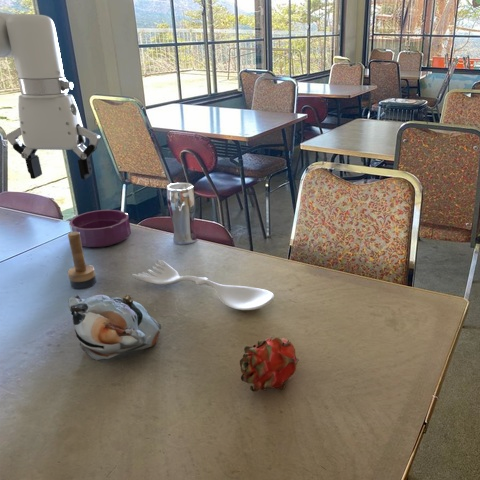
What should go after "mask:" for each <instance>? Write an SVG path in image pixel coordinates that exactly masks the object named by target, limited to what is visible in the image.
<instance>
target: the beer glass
mask: <svg viewBox="0 0 480 480" xmlns="http://www.w3.org/2000/svg"><path fill="white" fill-rule="evenodd" d="M195 195H196V194H195V190H194V185H193V184H192V183H190V182H175V183H170V184H168V185H167V186H166V203H167V204H166V205H167V209H168V213H169V216H170V220H171V223H172V228H173V238H172V239H173V240H172V241H173V243H174V244H176V245H179V246H180V245H181V246H185V245H191V244H193V243H195V242H197V240H198V237H197V233H196V230H195V219H196V206H197V205H196V196H195Z"/></svg>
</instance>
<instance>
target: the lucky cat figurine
mask: <svg viewBox="0 0 480 480" xmlns="http://www.w3.org/2000/svg"><path fill="white" fill-rule="evenodd" d="M67 302H68V309H69V311H70V312H71V313H70V314H71V316H72V324H73V329H74V332H75V336H76V339H77V341H78V342H79V346H80V348H81V350H82V351H83V352H85V353H86V354H87V355H89V356H90V357H91V359H92V360H94V361H100V360H104V359H105V360H109V359H112V358H114V357H116V356H118V355H121V354H125V353H129V352H134V351H139V350H144V349H148V348H150V347H154V346H156V344H157V341H158V339H159V335H160V330H161V329H162V324H161V323H159V322H158V321H157V320H156V319H155V318H154V317H152V316H151V315H150V313H149V312H148V310H147V308H145V307H144V305H142V304H141V303H139V302H137V301H135V300H134V297H132V296H131V295H129V294H125V295H124V296H123V297H113V296H108V295H106V294H95V295H92V296H90V297H87V298H81V297H80V296H79V295H73V296H71V297H70V298H69V299H67Z"/></svg>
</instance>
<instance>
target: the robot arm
mask: <svg viewBox="0 0 480 480" xmlns="http://www.w3.org/2000/svg"><path fill="white" fill-rule="evenodd" d="M60 51H61V50H60V46H59V42H58V35H57V30H56V26H55V22H54V21H53V18H51V17H50V16H48V15H45V14H33V13H7V12H0V58H12V59H13V62H14V67H15V72H16V77H17V81H18V85H19V89H20V94H19V95H18V103H17V104H18V120H19V127H18V128H16V129H14V130H13V131H10V132H8V133H7V134H6V135H5V138H6V140H7V141H8V142H9V144H10V145H11V146H12V148H13V150H14V151H16V153H18V154H19V155H20V156H21V158H22V159H24V160H25V164H26V168H27V173H28V174H29V176H30V179H31V180H34V179H37V178H38V177H40V176H42V175H43V171H42V166H41V161H40V157H39V156H38V155H39V154H36V153H37V151H38V150H47V151H48V150H50V151H52V150H53V151H54V150H55V151H56V150H57V151H68V150H70V151H71V150H72V151H73V153H74V154H76V155H77V156H78V157H79V159H78V160H77V164H78V170H79V174H80V179H82V180H87V179H88V178H89V177H91V175H92V173H93V168H92V162H91V156H92V155H93V154H94V152H95V151H96V150H97V149H98V145H99V142H100V140H101V135H100V134H98V133H96V132H94V131H92V130H90V129H88V128H85V127H84V125H83V122H82V118H81V115H80V112H79V108H78V106H77V103H76V101H75V97H74V96H73V94H71V93H68V92H69V90H73V88H74V83H73V82H72V81H69V80H67V79H66V77H65V74H64V69H63V62H62V58H61V52H60ZM20 137H22V141H23V142H21V141H20V139H19V138H20ZM86 139H88V140H89V144H88V145H87V146H86V145H85V144H86Z"/></svg>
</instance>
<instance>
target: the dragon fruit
mask: <svg viewBox="0 0 480 480" xmlns="http://www.w3.org/2000/svg"><path fill="white" fill-rule="evenodd" d="M243 352H244V353H243V354H242V358H241V359H240V360H239V366H240V372H241V376H240V380H241V381H242V382H245V383H246V384H253V385H250V386H249V390H250V391H251V392H253V393H257V392H259V391H264V390H267V389H272V388H273V389H275V390H278V389H280V391H282V390H284V389H285V387H286V386H285V383H284V382H285V381H287V380H289V379H290V378H291V377H292V376H293V375H294V374H295V372H296V370H297V365H298V362H299V358H297V356H296V348H295V346H294V344H293V342H292V341H290V340H289V339H287V338H285V337H283V338H280V337H274V338H273V337H272V336H270V337H268V338H266V339H261V340H258V341H257V343H256V344H253V345H252V346H251V345H245V346H244V348H243Z"/></svg>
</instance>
